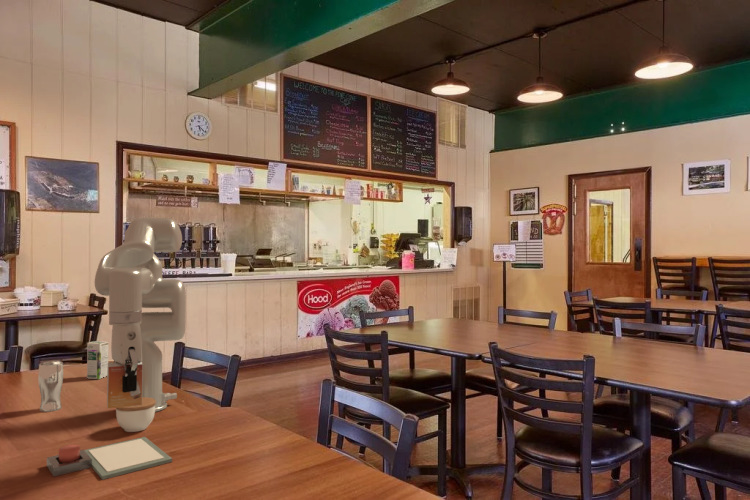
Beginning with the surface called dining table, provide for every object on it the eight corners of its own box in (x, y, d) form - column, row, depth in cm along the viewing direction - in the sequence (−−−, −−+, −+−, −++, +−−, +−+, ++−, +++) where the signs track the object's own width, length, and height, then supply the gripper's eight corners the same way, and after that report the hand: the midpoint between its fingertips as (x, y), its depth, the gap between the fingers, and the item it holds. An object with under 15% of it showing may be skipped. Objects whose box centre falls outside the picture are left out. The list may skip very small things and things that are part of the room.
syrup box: (86, 379, 214) (86, 342, 214) (96, 375, 220) (96, 340, 220) (99, 379, 213) (99, 343, 213) (108, 376, 219) (109, 340, 219)
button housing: (83, 457, 135) (83, 449, 135) (91, 467, 129) (91, 459, 129) (46, 465, 129) (46, 457, 129) (53, 476, 123) (53, 467, 123)
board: (144, 439, 148) (145, 436, 148) (172, 461, 133) (172, 457, 133) (80, 453, 137) (80, 450, 137) (102, 479, 122) (102, 475, 122)
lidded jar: (147, 420, 164) (147, 389, 164) (161, 428, 156) (161, 397, 156) (109, 428, 157) (110, 396, 157) (123, 437, 149) (123, 404, 149)
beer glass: (33, 410, 172) (33, 364, 172) (53, 404, 179) (53, 360, 179) (48, 413, 170) (48, 366, 170) (67, 407, 176) (68, 362, 176)
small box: (107, 409, 131) (107, 366, 131) (106, 403, 136) (107, 362, 136) (142, 405, 135) (143, 363, 135) (140, 399, 140) (141, 359, 140)
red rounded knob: (77, 454, 132) (77, 443, 132) (81, 460, 129) (81, 448, 129) (56, 459, 129) (57, 447, 129) (60, 464, 126) (61, 452, 126)
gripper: (152, 320, 131) (152, 393, 131) (130, 313, 144) (129, 379, 144) (120, 322, 126) (119, 398, 127) (99, 315, 139) (99, 384, 140)
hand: (124, 387), depth 135 cm, fingers closed on small box, 6 cm apart
